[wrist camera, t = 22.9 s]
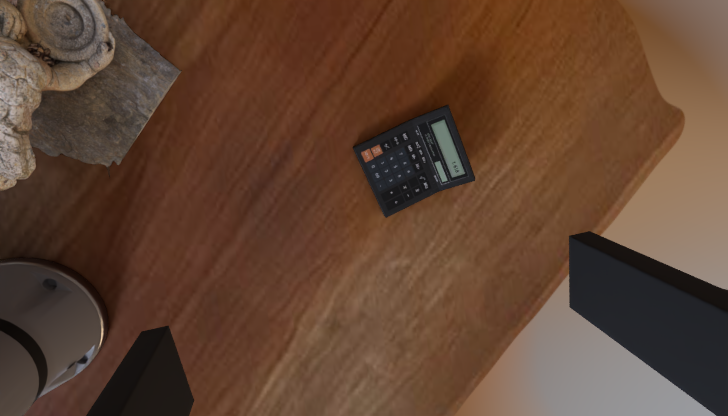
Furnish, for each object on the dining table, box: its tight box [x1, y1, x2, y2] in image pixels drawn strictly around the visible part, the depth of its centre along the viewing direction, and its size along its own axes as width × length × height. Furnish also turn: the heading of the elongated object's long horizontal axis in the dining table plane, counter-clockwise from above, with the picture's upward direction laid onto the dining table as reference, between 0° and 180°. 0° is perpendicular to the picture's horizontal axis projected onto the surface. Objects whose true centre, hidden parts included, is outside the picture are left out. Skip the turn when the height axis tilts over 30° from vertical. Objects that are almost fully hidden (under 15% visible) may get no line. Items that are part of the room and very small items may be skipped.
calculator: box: [353, 105, 475, 217], centre depth 46 cm, size 9×12×3 cm
